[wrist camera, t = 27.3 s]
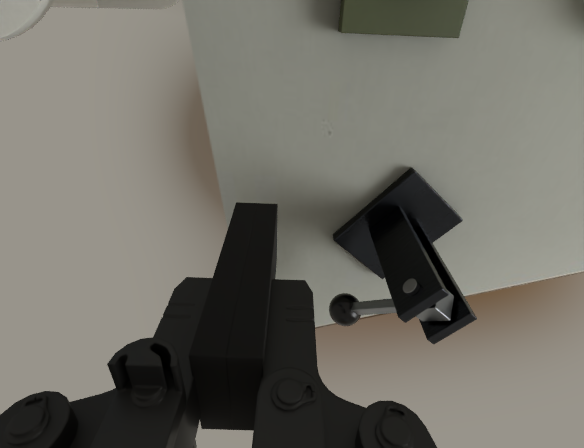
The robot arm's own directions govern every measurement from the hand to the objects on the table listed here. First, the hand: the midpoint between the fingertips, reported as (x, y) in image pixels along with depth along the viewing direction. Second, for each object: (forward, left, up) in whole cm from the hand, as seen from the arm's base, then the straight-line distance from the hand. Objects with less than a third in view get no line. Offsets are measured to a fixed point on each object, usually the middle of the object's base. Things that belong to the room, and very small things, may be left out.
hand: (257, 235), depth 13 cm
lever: (+17, +12, -16) cm, 26 cm away
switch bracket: (+14, +14, -24) cm, 31 cm away
